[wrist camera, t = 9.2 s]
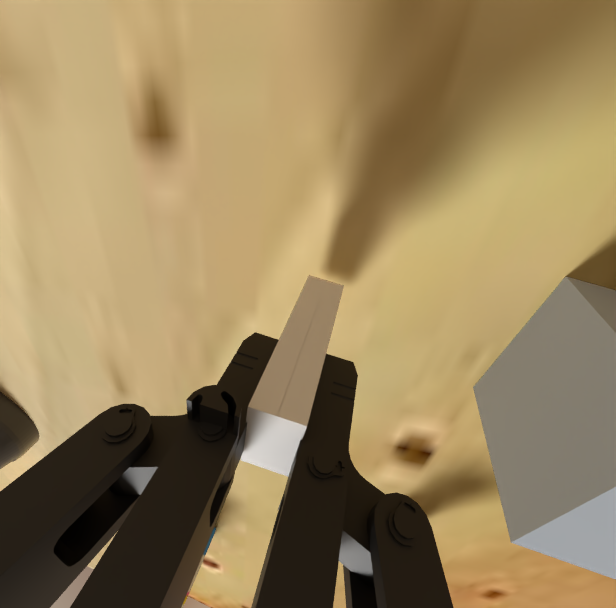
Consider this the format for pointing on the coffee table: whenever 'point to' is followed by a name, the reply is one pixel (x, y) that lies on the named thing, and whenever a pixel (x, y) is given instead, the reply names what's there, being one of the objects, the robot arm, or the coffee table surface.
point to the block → (558, 427)
